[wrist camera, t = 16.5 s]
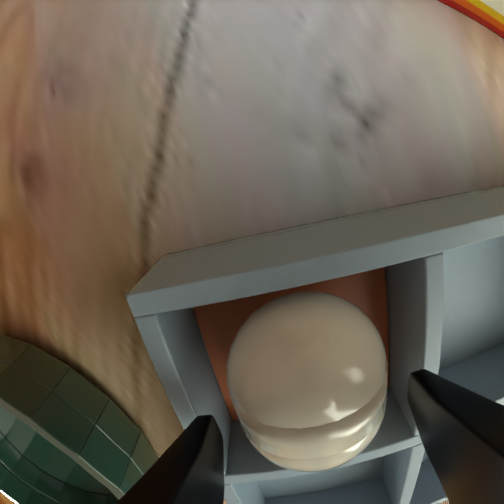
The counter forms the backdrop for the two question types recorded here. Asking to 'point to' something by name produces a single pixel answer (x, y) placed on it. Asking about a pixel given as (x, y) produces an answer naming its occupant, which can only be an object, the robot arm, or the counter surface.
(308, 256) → the divided tray
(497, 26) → the baking soda box
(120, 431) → the bowl
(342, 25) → the counter surface
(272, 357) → the egg
